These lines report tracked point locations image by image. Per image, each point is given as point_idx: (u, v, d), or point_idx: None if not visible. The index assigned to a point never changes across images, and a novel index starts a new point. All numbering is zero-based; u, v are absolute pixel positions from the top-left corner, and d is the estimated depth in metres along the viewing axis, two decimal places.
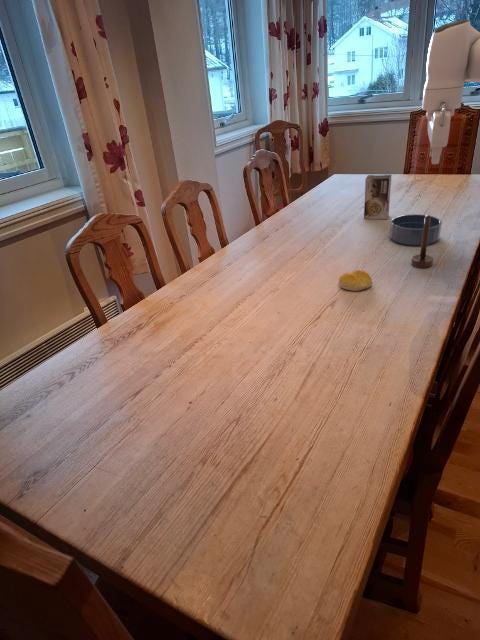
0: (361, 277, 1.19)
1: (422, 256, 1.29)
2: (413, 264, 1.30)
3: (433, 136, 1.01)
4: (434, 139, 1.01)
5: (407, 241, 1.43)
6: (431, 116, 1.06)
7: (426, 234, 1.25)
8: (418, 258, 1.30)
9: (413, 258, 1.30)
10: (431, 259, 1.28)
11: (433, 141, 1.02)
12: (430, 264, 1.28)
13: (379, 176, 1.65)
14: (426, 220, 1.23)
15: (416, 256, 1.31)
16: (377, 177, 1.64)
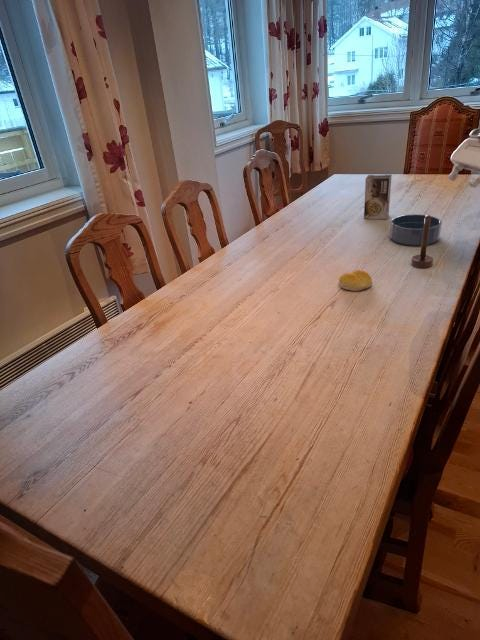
0: (361, 277, 1.19)
1: (422, 256, 1.29)
2: (413, 264, 1.30)
3: None
4: None
5: (407, 241, 1.43)
6: None
7: (426, 234, 1.25)
8: (418, 258, 1.30)
9: (413, 258, 1.30)
10: (431, 259, 1.28)
11: None
12: (430, 264, 1.28)
13: (379, 176, 1.65)
14: (426, 220, 1.23)
15: (416, 256, 1.31)
16: (377, 177, 1.64)
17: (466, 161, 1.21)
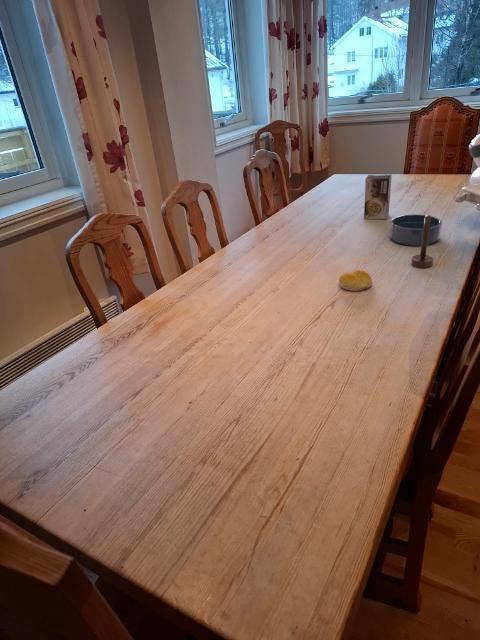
0: (361, 277, 1.19)
1: (422, 256, 1.29)
2: (413, 264, 1.30)
3: None
4: None
5: (407, 241, 1.43)
6: None
7: (426, 234, 1.25)
8: (418, 258, 1.30)
9: (413, 258, 1.30)
10: (431, 259, 1.28)
11: None
12: (430, 264, 1.28)
13: (379, 176, 1.65)
14: (426, 220, 1.23)
15: (416, 256, 1.31)
16: (377, 177, 1.64)
17: (479, 192, 1.26)
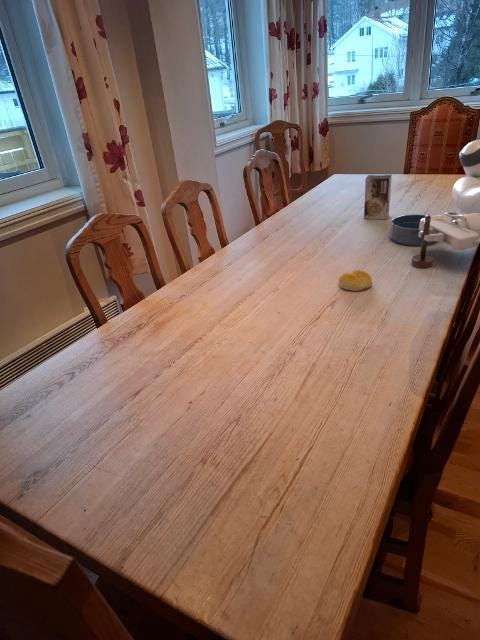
0: (361, 277, 1.19)
1: (422, 256, 1.29)
2: (413, 264, 1.30)
3: (467, 238, 1.18)
4: (465, 240, 1.18)
5: (407, 241, 1.43)
6: (461, 226, 1.25)
7: None
8: (418, 258, 1.30)
9: (413, 258, 1.30)
10: (431, 259, 1.28)
11: (464, 239, 1.18)
12: (430, 264, 1.28)
13: (379, 176, 1.65)
14: (426, 220, 1.23)
15: (416, 256, 1.31)
16: (377, 177, 1.64)
17: (435, 225, 1.28)
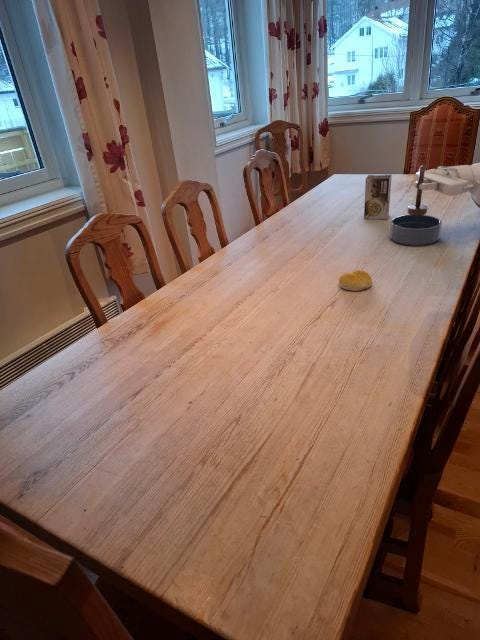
0: (361, 277, 1.19)
1: (417, 204, 1.43)
2: (409, 212, 1.44)
3: (457, 184, 1.32)
4: (456, 185, 1.32)
5: (407, 241, 1.43)
6: (453, 176, 1.38)
7: (421, 183, 1.39)
8: (414, 207, 1.44)
9: (409, 207, 1.44)
10: (425, 207, 1.42)
11: (454, 185, 1.32)
12: (424, 211, 1.42)
13: (379, 176, 1.65)
14: (421, 170, 1.37)
15: (412, 205, 1.45)
16: (377, 177, 1.64)
17: (429, 176, 1.42)
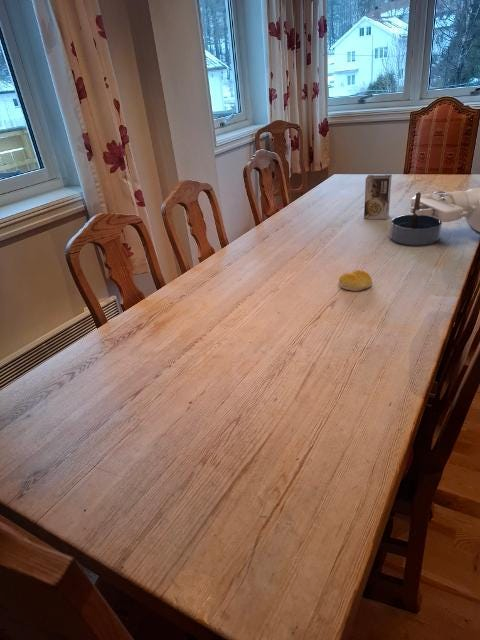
0: (361, 277, 1.19)
1: None
2: None
3: (452, 211, 1.35)
4: (451, 212, 1.35)
5: (407, 241, 1.43)
6: (448, 202, 1.41)
7: None
8: None
9: None
10: None
11: (449, 212, 1.34)
12: None
13: (379, 176, 1.65)
14: (417, 196, 1.40)
15: None
16: (377, 177, 1.64)
17: (425, 202, 1.45)
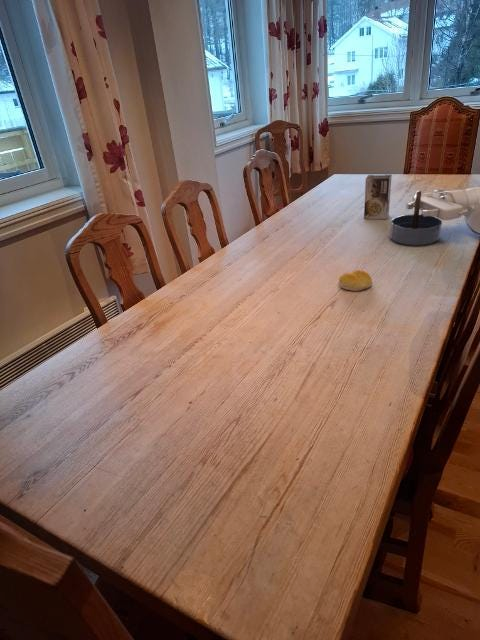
0: (361, 277, 1.19)
1: (414, 227, 1.48)
2: None
3: (452, 209, 1.37)
4: (451, 211, 1.37)
5: (407, 241, 1.43)
6: (448, 201, 1.44)
7: (417, 207, 1.45)
8: None
9: None
10: None
11: (450, 210, 1.37)
12: None
13: (379, 176, 1.65)
14: (417, 195, 1.43)
15: None
16: (377, 177, 1.64)
17: (425, 200, 1.47)
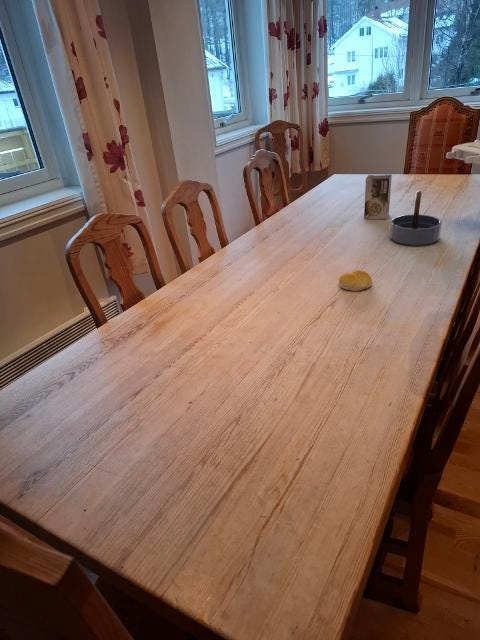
0: (361, 277, 1.19)
1: (414, 227, 1.48)
2: None
3: None
4: None
5: (407, 241, 1.43)
6: None
7: (417, 207, 1.45)
8: None
9: None
10: None
11: None
12: None
13: (379, 176, 1.65)
14: (417, 195, 1.43)
15: None
16: (377, 177, 1.64)
17: (467, 149, 1.42)
